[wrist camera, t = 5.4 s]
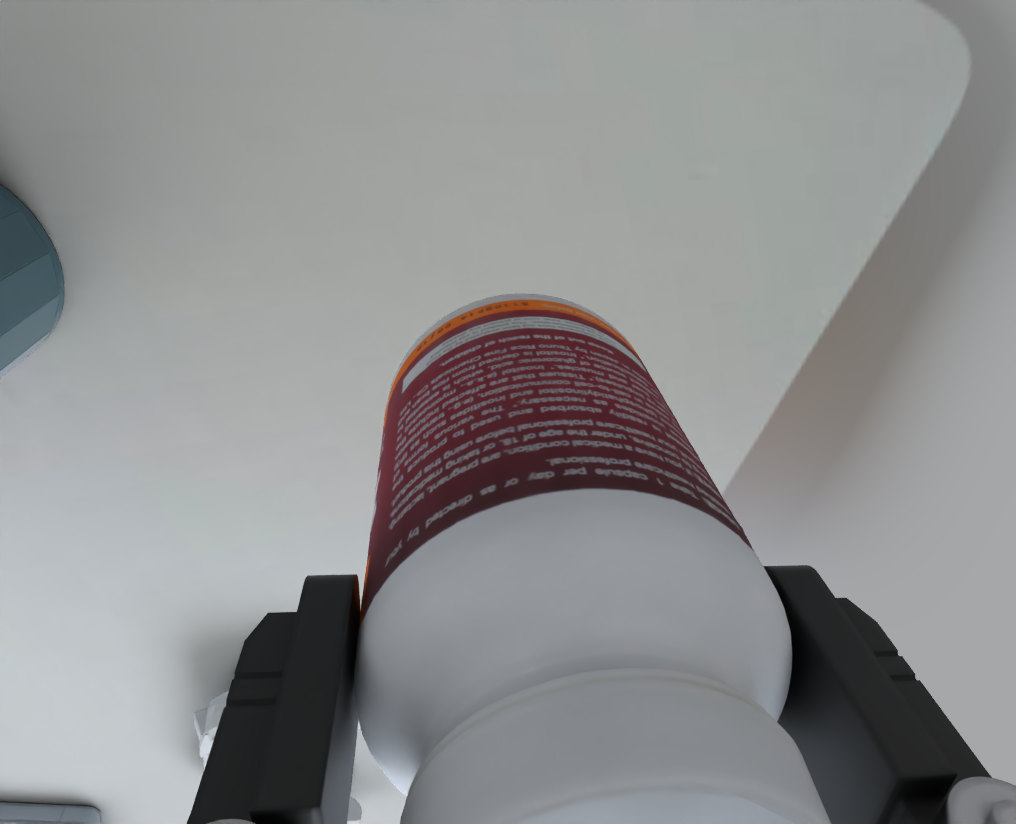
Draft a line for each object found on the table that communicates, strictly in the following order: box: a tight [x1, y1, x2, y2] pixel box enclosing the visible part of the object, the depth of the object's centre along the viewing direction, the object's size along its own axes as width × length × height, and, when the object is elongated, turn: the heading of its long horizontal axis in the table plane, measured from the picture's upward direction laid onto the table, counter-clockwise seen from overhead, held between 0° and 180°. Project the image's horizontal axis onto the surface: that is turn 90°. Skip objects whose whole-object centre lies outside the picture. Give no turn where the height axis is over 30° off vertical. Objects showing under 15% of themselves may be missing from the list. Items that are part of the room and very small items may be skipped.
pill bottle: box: [354, 294, 831, 824], centre depth 12 cm, size 6×6×11 cm
